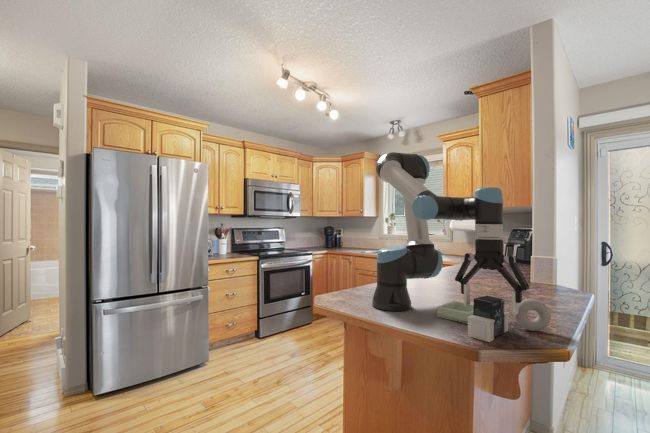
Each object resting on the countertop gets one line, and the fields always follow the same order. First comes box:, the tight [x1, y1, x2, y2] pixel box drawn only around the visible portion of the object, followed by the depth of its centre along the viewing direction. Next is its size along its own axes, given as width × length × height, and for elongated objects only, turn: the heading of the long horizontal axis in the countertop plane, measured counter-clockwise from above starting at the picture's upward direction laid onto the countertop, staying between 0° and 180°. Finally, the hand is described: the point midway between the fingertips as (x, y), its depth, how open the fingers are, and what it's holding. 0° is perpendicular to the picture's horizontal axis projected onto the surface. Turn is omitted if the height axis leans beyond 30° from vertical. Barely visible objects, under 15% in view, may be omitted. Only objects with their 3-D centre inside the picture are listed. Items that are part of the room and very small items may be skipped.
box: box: [472, 295, 505, 338], centre depth 93 cm, size 8×6×11 cm
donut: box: [514, 298, 552, 332], centre depth 96 cm, size 10×3×10 cm, turn 78°
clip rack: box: [467, 310, 510, 343], centre depth 93 cm, size 6×16×6 cm, turn 132°
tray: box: [436, 300, 474, 325], centre depth 109 cm, size 11×13×4 cm
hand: (489, 309), depth 93 cm, fingers open, 13 cm apart
